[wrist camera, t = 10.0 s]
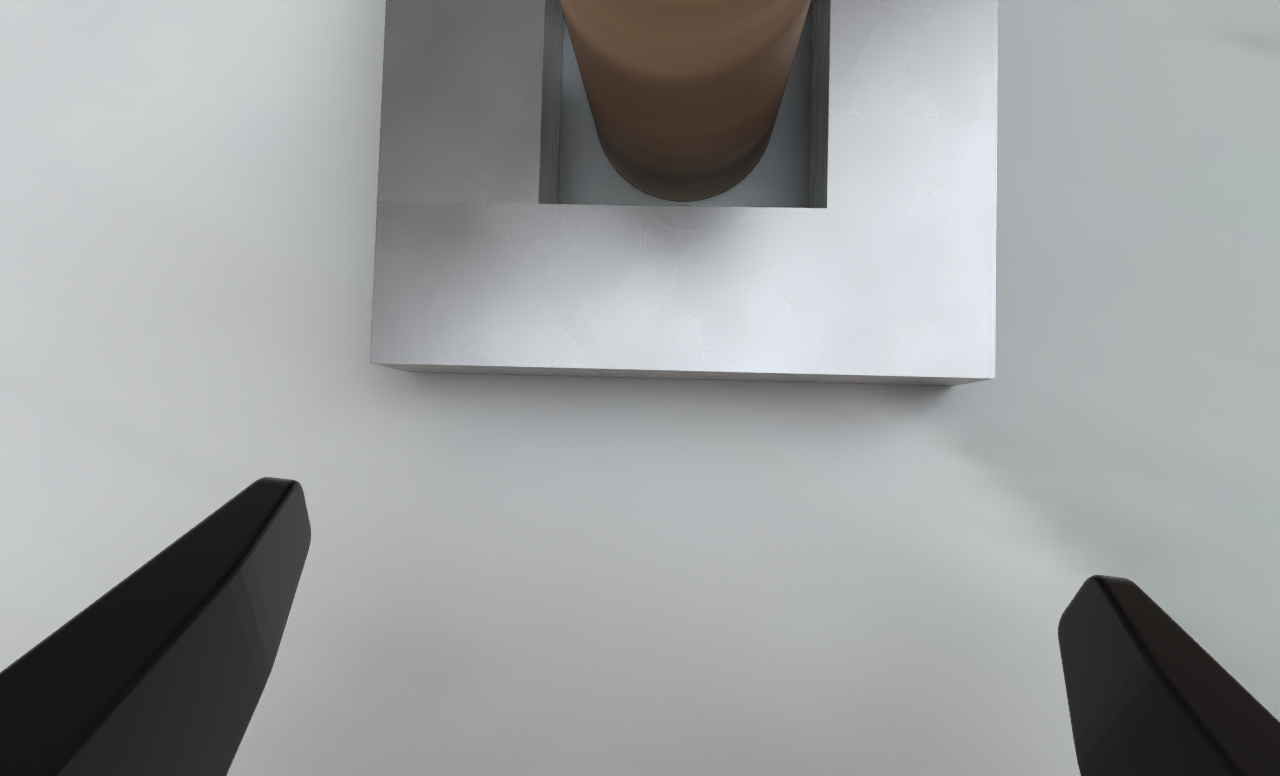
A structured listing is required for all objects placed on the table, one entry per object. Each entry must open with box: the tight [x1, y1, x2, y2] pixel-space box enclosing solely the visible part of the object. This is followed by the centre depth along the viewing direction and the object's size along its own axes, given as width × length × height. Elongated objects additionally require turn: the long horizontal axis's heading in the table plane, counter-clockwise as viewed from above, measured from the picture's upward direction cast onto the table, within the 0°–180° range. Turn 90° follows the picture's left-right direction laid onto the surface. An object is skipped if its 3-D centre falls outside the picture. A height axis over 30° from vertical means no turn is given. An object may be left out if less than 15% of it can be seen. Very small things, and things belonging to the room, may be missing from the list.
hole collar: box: [370, 0, 998, 386], centre depth 18 cm, size 12×12×2 cm
